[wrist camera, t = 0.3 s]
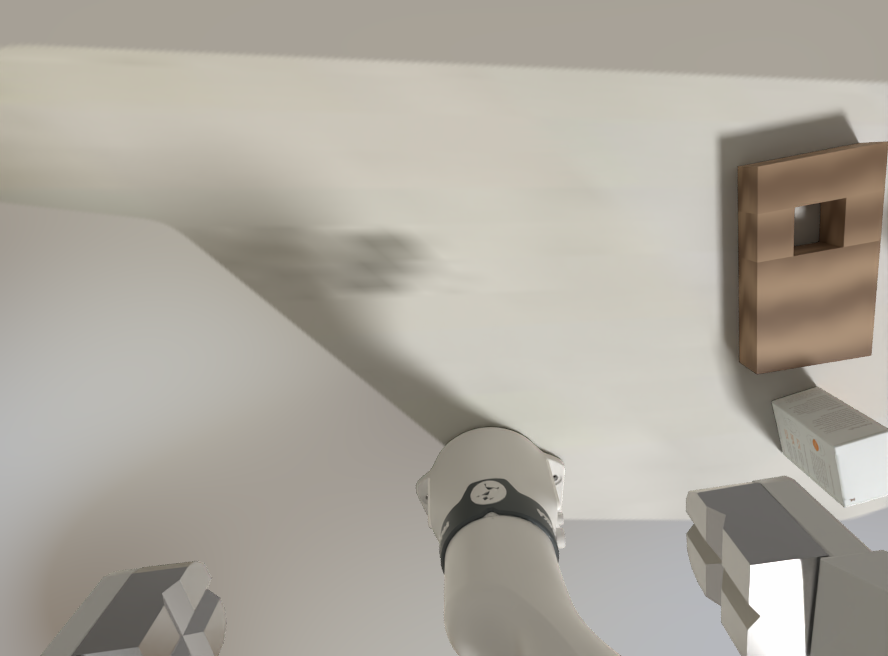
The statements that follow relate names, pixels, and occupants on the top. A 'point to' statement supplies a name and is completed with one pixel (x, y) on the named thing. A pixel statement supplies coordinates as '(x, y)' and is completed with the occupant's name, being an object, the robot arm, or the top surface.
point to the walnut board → (809, 257)
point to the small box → (834, 445)
